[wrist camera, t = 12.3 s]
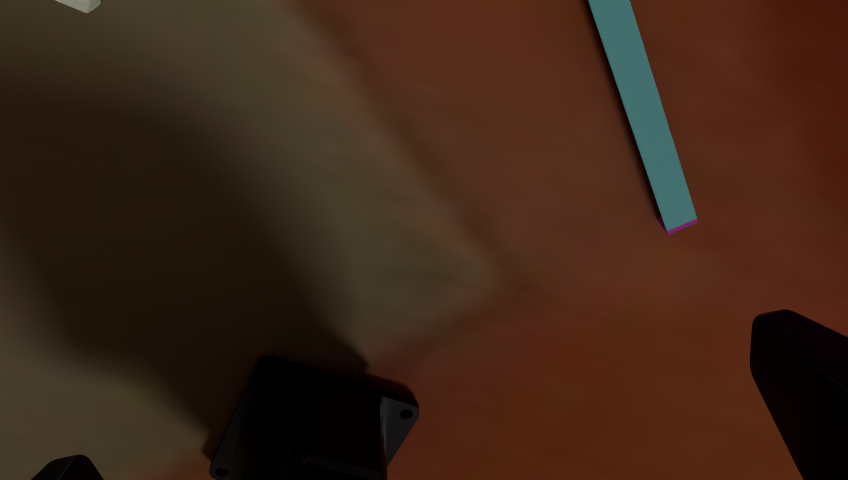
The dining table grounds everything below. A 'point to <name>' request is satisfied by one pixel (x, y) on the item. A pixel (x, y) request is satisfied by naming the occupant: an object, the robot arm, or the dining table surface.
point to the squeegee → (644, 111)
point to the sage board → (82, 4)
